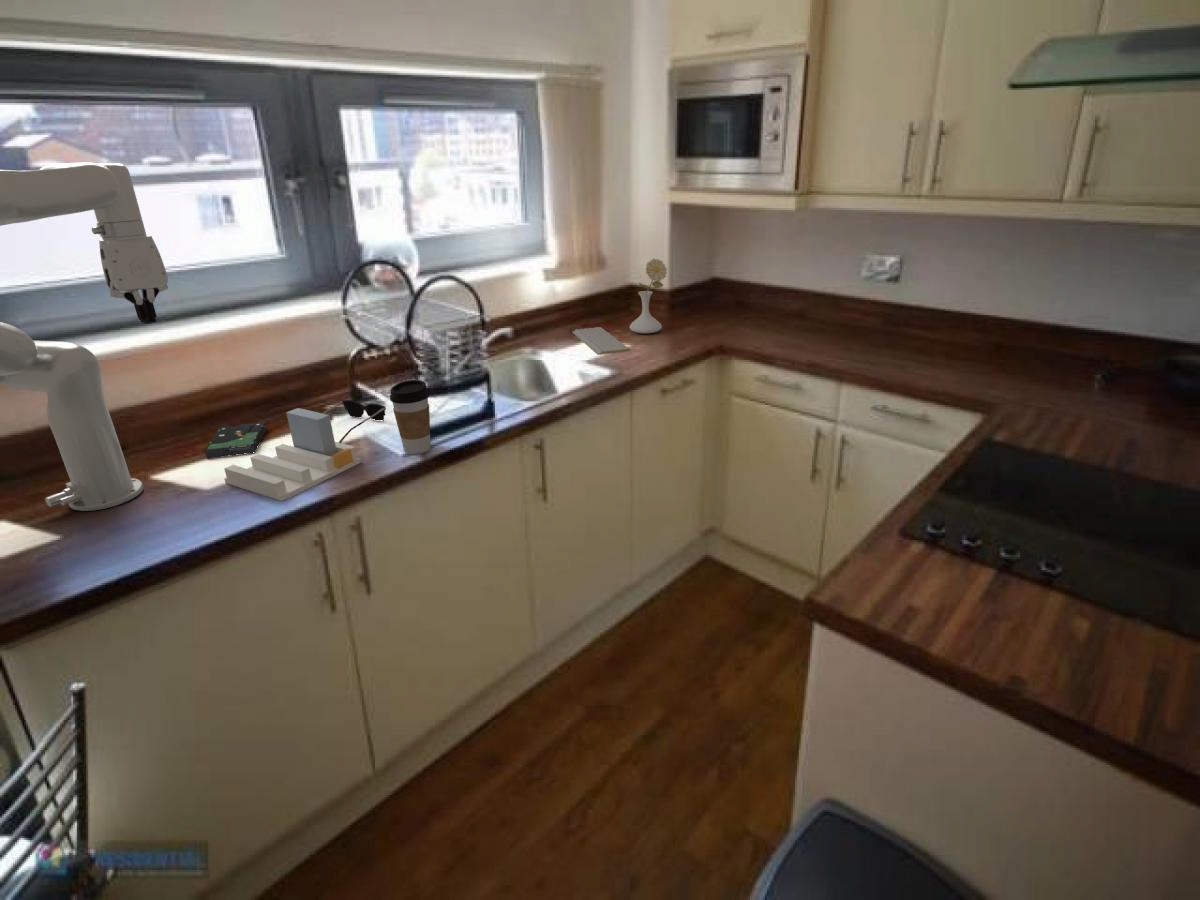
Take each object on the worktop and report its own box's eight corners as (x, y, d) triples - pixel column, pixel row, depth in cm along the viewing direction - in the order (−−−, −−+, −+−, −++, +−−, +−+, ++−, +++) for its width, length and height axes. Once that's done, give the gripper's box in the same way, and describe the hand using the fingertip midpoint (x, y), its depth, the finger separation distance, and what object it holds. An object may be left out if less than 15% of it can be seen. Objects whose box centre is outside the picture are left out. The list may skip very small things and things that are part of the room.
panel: (326, 463, 150) (317, 419, 146) (295, 455, 155) (286, 412, 151) (338, 458, 152) (329, 415, 148) (307, 450, 157) (298, 408, 153)
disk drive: (222, 437, 171) (206, 460, 158) (219, 426, 170) (203, 449, 157) (268, 431, 173) (256, 454, 160) (265, 421, 172) (253, 443, 159)
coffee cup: (443, 443, 161) (435, 380, 155) (424, 458, 154) (414, 393, 148) (411, 440, 164) (401, 378, 158) (390, 454, 157) (380, 390, 150)
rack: (282, 501, 137) (277, 482, 136) (225, 482, 146) (220, 465, 144) (361, 462, 153) (358, 445, 152) (305, 447, 162) (302, 431, 160)
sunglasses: (389, 423, 175) (385, 405, 173) (343, 451, 162) (338, 432, 160) (347, 416, 181) (342, 398, 178) (299, 443, 168) (294, 424, 166)
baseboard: (593, 357, 223) (628, 353, 227) (592, 348, 222) (628, 344, 225) (568, 334, 251) (600, 331, 254) (567, 326, 249) (600, 323, 253)
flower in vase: (631, 336, 242) (630, 262, 232) (627, 328, 253) (626, 257, 243) (669, 334, 243) (669, 260, 233) (663, 326, 254) (664, 255, 244)
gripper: (90, 235, 132) (119, 332, 139) (171, 227, 144) (194, 317, 151) (72, 234, 136) (101, 328, 143) (152, 226, 147) (175, 313, 155)
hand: (148, 322), depth 147 cm, fingers closed
